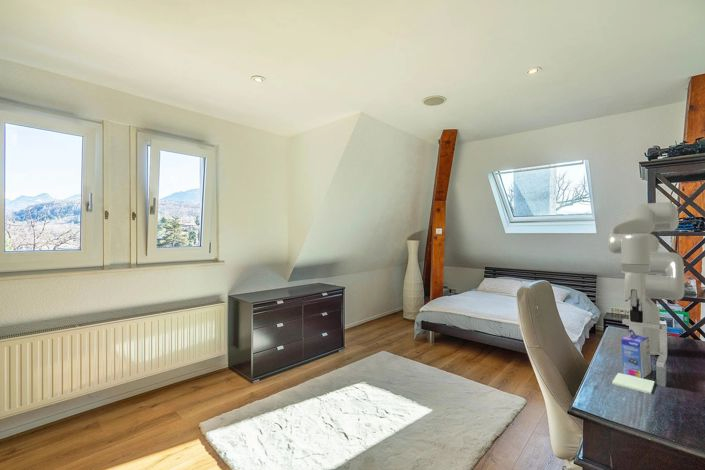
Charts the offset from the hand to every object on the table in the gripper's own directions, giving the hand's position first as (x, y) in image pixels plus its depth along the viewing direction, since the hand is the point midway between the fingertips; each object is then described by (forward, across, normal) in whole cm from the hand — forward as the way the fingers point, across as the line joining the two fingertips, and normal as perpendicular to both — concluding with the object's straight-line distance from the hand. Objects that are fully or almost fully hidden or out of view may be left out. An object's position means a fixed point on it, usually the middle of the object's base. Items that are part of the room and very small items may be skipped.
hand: (636, 321), depth 111 cm
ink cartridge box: (+18, +2, 0) cm, 18 cm away
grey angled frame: (+11, +3, +2) cm, 11 cm away
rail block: (+17, +7, +6) cm, 20 cm away
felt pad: (+17, +14, 0) cm, 22 cm away
